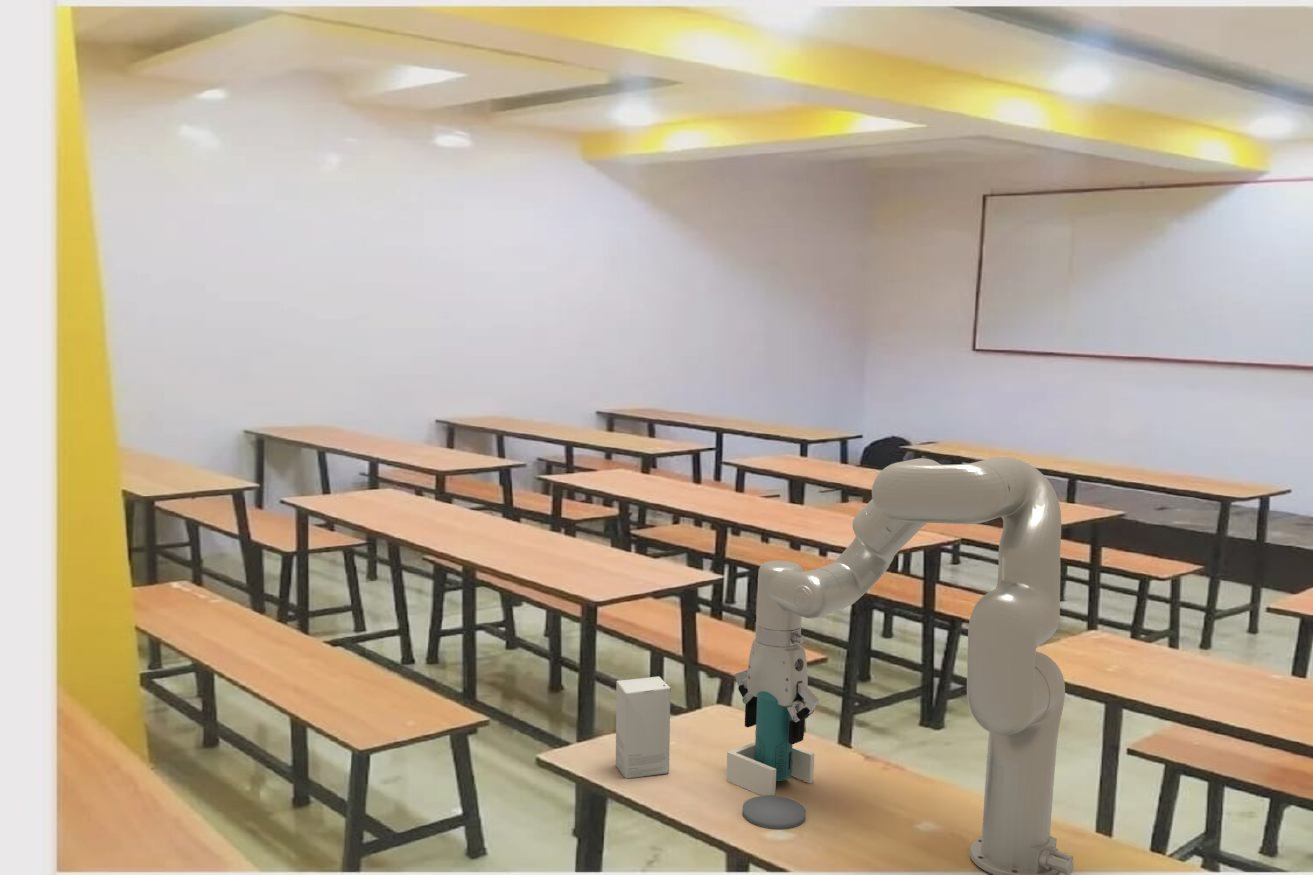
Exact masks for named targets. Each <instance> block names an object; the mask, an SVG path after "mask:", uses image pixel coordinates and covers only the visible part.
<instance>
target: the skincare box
mask: <svg viewBox="0 0 1313 875" xmlns="http://www.w3.org/2000/svg"><path fill="white" fill-rule="evenodd" d="M615 684H616V685H615V686H616V688H615V689H616V691H615V692H616V698H615V699H616V700H615V701H616V704H615V707H616V708H615V717H616V718H615V766H616V767H617V769H618V770H619V772H620V773H621V774H622V775H623V777H624V778H625V779H626V780H627V779H633V778H643V777H649V776H657V775H664V774H669V773H670V743H671V741H670V738H671V737H670V734H671V730H670V729H671V691H672V688H671V686H669V685H668V684H667V683H666V681H664V680H663V679H662V677H661V676H659V675H658V676H651V677H642V678H640V677H639V678H632V679H624V680H622V679H621V680H620V679H619V680H616V683H615Z"/></svg>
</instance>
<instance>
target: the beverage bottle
mask: <svg viewBox="0 0 1313 875" xmlns="http://www.w3.org/2000/svg"><path fill="white" fill-rule="evenodd" d="M791 720H793V719H792V717H791V715H790V713H789V711H788V709H787V707H782V706H780V705H778V700H777V699H776V698H775V697H774V696H773V695H771V694H770V693H768V692H765V691H762V692H758V693H757V715H756V723H755V724H756V725H755V731H754V732H755V733H754V735H755V736H754V742H755V746H754V747H755V748H754V749H755V759H754V760H755V761H758V762H760V763H763V764H765V765H768V766H770V767H773V768H775V769H776V782H780V781H785V780H788V779H789V778H790V777H791V776H790V775H791V769H792V768H791V766H792V764H793V760H792V745H793V746H794V744H790V743H789V742H788V739H789V722H790V721H791Z"/></svg>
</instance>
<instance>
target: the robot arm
mask: <svg viewBox="0 0 1313 875" xmlns="http://www.w3.org/2000/svg"><path fill="white" fill-rule="evenodd" d="M1060 505H1061V504H1060V501H1059V498H1058V495H1057V493H1056V491H1055V489H1054V487H1053V485H1052V484H1051V482H1050V481H1049V479H1048V478H1047V477H1046V476H1045V475H1044V474H1043V473H1042V472H1041V471H1040V470H1039V469H1038V468H1036V467H1035V466H1033V465H1032V464H1030V463H1027V462H1025V461H1023V460H1021V459H1018V458H1014V457H1007V456H1001V457H1000V456H999V457H998V456H997V457H990V458H987V459H983V460H979V461H975V462H974V461H973V462H971V463H965V464H964V463H963V464H962V463H961V464H959V463H958V464H941V463H939V462H937V461H936V460H933V459H929V458H921V457H920V458H915V459H910V460H909V459H908V460H905V461H898V462H894V463H891V464H889V465H888V466H887V465H886V467H884V468H883V469H882V470H880V472H879V473H878V474H877V475H876V477H875V479H874V481H873V483H872V488H871V500H869V502H868V503H866V505H865V506H864V507H863V508H861V510H860V511H859V512H858V513H857V514H856V515H855V516H854V517H853V520H852V530H853V533H854V535H855V538H854V539H853V540H852V542H851V543H850V544H849V545H848V546H847V547H846V548H845V549H844V551H843V552H842V553H841V554H840V555H839V556H838V557H836V559H835V560H834V561H833V562H831V563H830V564H828V565H827V564H826V565H824V566H821V567H818V568H815V569H811V570H810V569H809V570H806V571H804V569H803V567H801V566H800V564H798V563H796V562H793V561H789V560H777V559H776V560H769V561H765V562H763V563H762V564H761V565H760V567H759V568H758V575H757V596H756V598H757V599H756V614H755V615H756V616H755V617H756V619H755V638H753V640H752V643H751V648H750V650H749V651H750V653H749V656H748V664H747V669H745V670H743V671H740V672H737V673H736V674H735V675H734V677H735V680H736V683H737V686H738V687H737V689H738V691H739V693H740V695H741V697H742V703H743V704H744V705H745V707H744V708H745V709H744V711H745V712H744V727H745V728H750V727H753V726H756V724H755V723H756V715H757V693H758V692H762V691H765V692H768V693H770V694H771V695H773V696H774V697H775V698H776V699H777V700H778V705H780V706H782V707H787V709H788V711H789V713H790V715H791V717H792V719H793V720H791V721H790V722H789V739H788V742H789V743H790V744H793V745H794V744H797V743H800V742H803V741H804V736H805V724H806V722H805V721H806V719H808V718H809V717H810V716H811V715H812V714H813V713H814V712H815V709H816V707H817V705H818V703H819V698H818V697H817V696H816V695H815V694H814V692H812V691H811V690H810V689H809V688H808V686H809V685H808V683H809V682H808V663H807V655H806V650H805V646H804V645H801V644H804V642H805V640H806V637H805V636H804V635H802V618H805V619H810V620H811V619H812V620H814V619H819V618H822V617H825V616H828V615H830V614H832V613H834V612H838V611H840V610H844V609H846V608H848V607H850V606H852V605H854V604H855V603H856V602H857V601H858V600H859V599H860V598H862V597H863V596H864V595H865V594H866V593H867V592H868V590H870V589H871V588H872V587H873V586H874V585H875V584H876V583H877V582H878V581H879V580H880V579H881V577H883V575H884V574H885V573H886V571H887V570H888V569H889V567H890V565H891V564H892V562H893V560H894V559H895V558H894V557H895V556H896V555H897V553H898V552H899V551H900V550H901V549H903V547H904V546H906V544H908V542H909V541H910V540H911V539H912V538H913V537H914V536H915V535H916V534H917V533H918V532H920V531H921V530H922V528H923V527H925V525H927V524H946V525H947V524H949V525H950V524H951V525H973V524H974V525H975V524H983V523H987V522H989V521H991V520H995V519H999V518H1001V519H1002V523H1003V526H1002V533H1001V536H1000V539H999V540H1000V541H999V545H998V558H997V559H998V570H997V571H998V572H997V584H996V587H995V588H994V589H993V590H991V591H989V592H986V593H985V594H984V595H982V597H980V599H979V600H978V601H977V602H976V603H975V605H974V607H973V609H972V611H971V614H970V617H969V621H968V622H969V623H968V628H967V660H966V661H967V662H966V664H967V665H966V670H967V671H966V695H967V697H966V698H967V703H968V707H969V710H970V713H971V714H972V717H973V719H974V720H975V721H976V722H977V723H978V724H979V726H981V728H983V730H985V731H987V732H988V740H987V750H986V751H987V752H986V762H985V763H986V768H985V779H984V780H985V783H984V796H983V797H984V798H983V799H984V800H983V812H982V813H983V814H982V825H981V826H982V827H981V829H982V830H981V837H979V838H977V839H976V840H974V841H973V842H972V843H971V844H970V847H969V856H970V859H971V861H972V862H973V863H974V864H975V865H976V866H977V867H978V868H980V869H981V870H983V871H984V872H986V873H989V874H991V875H1057V874H1058V873H1061V874H1063V875H1072V874H1073V871H1074V868H1075V867H1074V862H1073V861H1074V857H1073V855H1071V854H1069V853H1066V852H1062V851H1059V849H1058V848H1057V841H1058V840H1057V838H1056V837H1053V836H1051V826H1052V812H1053V799H1054V798H1053V797H1054V783H1055V771H1056V770H1055V768H1056V761H1057V760H1056V759H1057V749H1058V748H1057V747H1058V738H1059V732H1060V731H1059V730H1060V725H1061V720H1062V715H1063V710H1064V706H1065V705H1064V704H1065V697H1066V684H1065V683H1066V682H1065V679H1064V676H1063V673H1062V671H1061V669H1060V667H1059V665H1058V664H1057V662H1055V661H1054V660H1053V659H1052V658H1051V657H1050V656H1048V655H1046V654H1045V653H1043V652H1041V651H1037V647H1038V646H1040V645H1042V644H1043V643H1045V642H1047V641H1048V640H1049V639H1050V638H1052V637H1053V636H1054V635H1055V633H1056V632H1057V630H1058V627H1059V624H1060V617H1061V614H1060V613H1061V610H1060V609H1061V570H1062V569H1061V568H1062V566H1061V543H1062V513H1061V512H1062V511H1061V506H1060ZM804 703H805V704H804Z"/></svg>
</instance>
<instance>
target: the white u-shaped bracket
mask: <svg viewBox="0 0 1313 875" xmlns="http://www.w3.org/2000/svg"><path fill="white" fill-rule="evenodd" d="M754 746H755V741H753V742H752V743H748V744H746V745H744V746H743V745H742V746H741V747H738V748H735V749H733V750H729V751H727V752H726V753H727V755H726V773H725V774H726V777H725V778H726V779H725V780H726V782H729V783H732V784H734V785H736V786H738V787H741V788H743V789H745V790H747V791H749V792H752V793H753V794H757V795H759V796H776V788H777V787H776V786H777V781H776V769H775V768H773V767H770V766H768V765H765V764H763V763H760V762H758V761H755V760H754V759H755V749H754V748H755V747H754ZM792 760H793V764H792V766H791V768H792V769H791V776H790V777H792V776H793V777H792V778H795V779H797V780H799V781H802V780H803V782H805V783H808V784H812V783H814V773H815V772H814V771H815V753H814V752H811V751H808V750H806V749H803V748H801V747H798V746H796V745H794V744H793V745H792Z"/></svg>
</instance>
